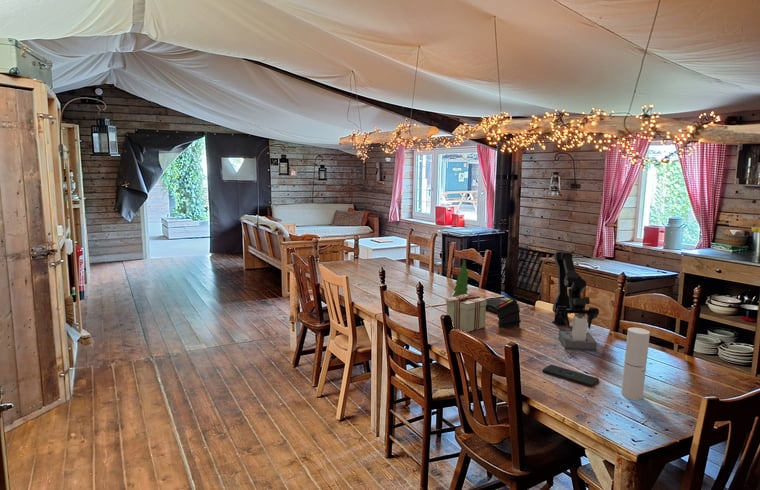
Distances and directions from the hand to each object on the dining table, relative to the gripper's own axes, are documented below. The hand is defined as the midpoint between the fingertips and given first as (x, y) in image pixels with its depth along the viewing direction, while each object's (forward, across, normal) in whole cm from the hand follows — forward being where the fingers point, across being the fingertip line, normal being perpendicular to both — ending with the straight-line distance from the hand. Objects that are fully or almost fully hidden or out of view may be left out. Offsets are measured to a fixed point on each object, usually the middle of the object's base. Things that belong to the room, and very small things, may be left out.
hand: (579, 327), depth 236 cm
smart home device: (+33, -12, -20) cm, 40 cm away
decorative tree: (-28, -54, +42) cm, 74 cm away
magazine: (-10, -30, +23) cm, 39 cm away
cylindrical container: (+42, +7, -30) cm, 52 cm away
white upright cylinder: (+6, 0, +5) cm, 8 cm away
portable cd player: (-33, -31, +47) cm, 66 cm away
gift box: (-7, -53, +20) cm, 57 cm away
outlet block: (+5, 0, +7) cm, 9 cm away
